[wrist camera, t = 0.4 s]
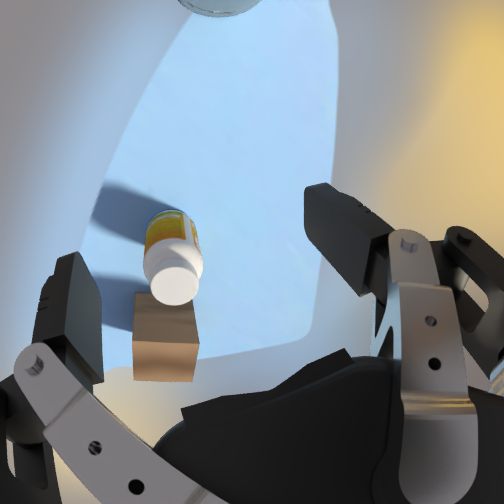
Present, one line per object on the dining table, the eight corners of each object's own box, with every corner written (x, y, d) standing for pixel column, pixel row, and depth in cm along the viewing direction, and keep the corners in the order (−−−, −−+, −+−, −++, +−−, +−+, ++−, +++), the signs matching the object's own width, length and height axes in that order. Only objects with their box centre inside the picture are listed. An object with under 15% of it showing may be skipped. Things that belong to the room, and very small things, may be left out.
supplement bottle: (136, 237, 31) (129, 294, 23) (165, 198, 30) (165, 246, 22) (176, 261, 34) (182, 321, 26) (206, 226, 33) (220, 280, 25)
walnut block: (135, 291, 35) (132, 340, 28) (191, 295, 37) (199, 343, 31) (134, 332, 38) (133, 380, 32) (185, 335, 41) (192, 382, 34)
